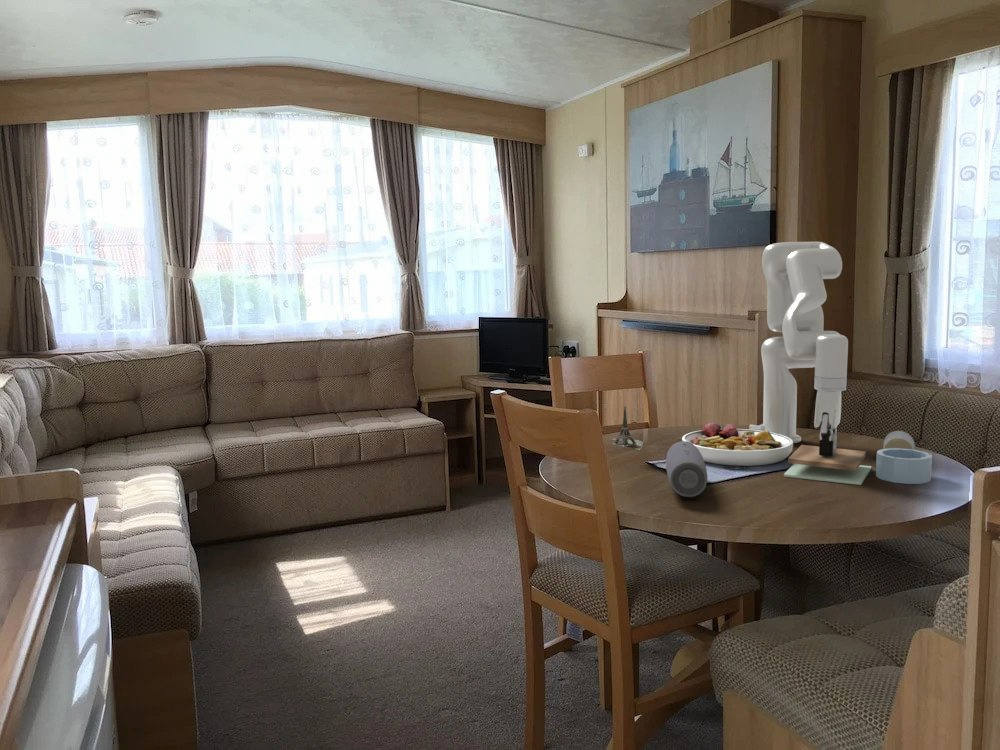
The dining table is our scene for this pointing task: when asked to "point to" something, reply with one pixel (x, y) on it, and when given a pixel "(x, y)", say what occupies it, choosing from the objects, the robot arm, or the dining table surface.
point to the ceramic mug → (898, 441)
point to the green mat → (828, 474)
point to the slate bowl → (903, 466)
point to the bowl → (739, 445)
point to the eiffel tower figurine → (627, 436)
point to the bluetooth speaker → (686, 469)
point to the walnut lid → (828, 457)
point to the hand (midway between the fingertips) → (827, 452)
